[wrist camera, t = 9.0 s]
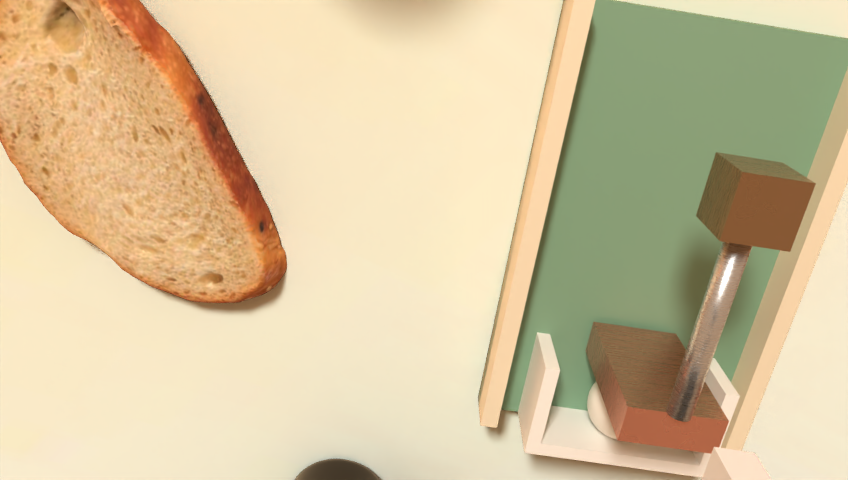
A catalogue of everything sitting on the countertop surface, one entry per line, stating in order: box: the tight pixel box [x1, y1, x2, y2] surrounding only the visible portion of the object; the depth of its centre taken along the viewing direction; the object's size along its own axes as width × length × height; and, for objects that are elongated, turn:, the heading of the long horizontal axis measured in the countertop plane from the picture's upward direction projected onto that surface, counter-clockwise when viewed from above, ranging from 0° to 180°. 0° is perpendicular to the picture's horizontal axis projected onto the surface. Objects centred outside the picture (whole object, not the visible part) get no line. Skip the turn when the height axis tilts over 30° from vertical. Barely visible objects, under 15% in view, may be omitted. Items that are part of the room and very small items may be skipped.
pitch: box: [478, 0, 848, 478], centre depth 40 cm, size 25×16×5 cm, turn 171°
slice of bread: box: [0, 0, 287, 303], centre depth 39 cm, size 18×18×4 cm
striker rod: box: [585, 152, 816, 454], centre depth 36 cm, size 14×5×10 cm, turn 171°
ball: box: [587, 382, 617, 439], centre depth 43 cm, size 4×4×4 cm
